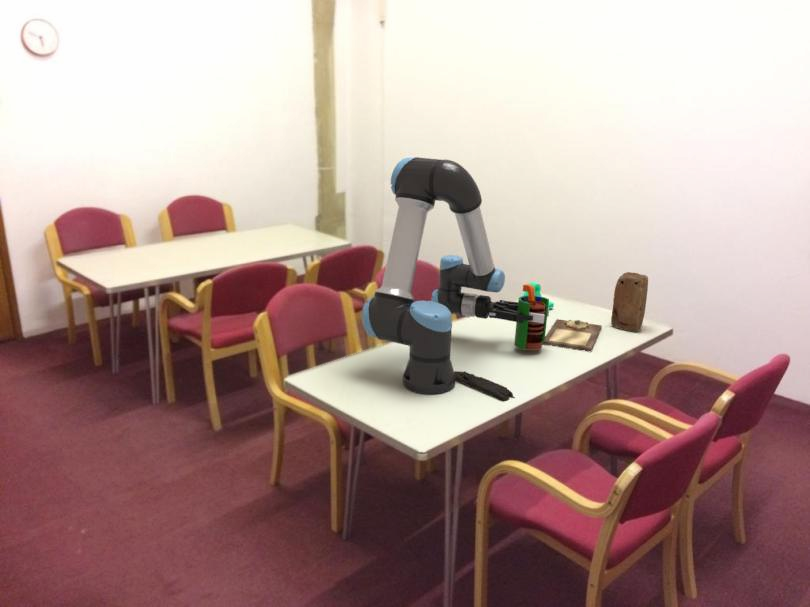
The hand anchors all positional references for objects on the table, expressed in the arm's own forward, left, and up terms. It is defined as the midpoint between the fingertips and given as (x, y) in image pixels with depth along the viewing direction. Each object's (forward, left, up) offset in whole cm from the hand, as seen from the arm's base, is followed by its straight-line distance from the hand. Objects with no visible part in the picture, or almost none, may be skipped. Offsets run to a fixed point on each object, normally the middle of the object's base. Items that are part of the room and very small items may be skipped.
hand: (546, 315), depth 214 cm
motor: (-5, 0, -11) cm, 12 cm away
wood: (-10, -33, -13) cm, 37 cm away
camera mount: (-12, +45, -13) cm, 48 cm away
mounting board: (+6, +20, -13) cm, 24 cm away
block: (+22, +37, -13) cm, 45 cm away
